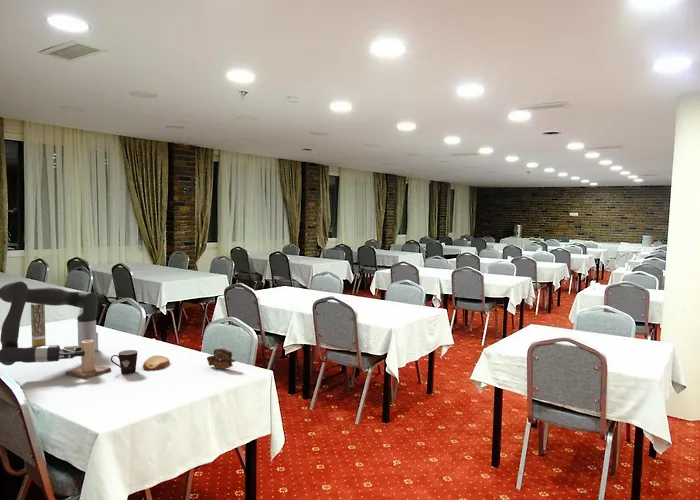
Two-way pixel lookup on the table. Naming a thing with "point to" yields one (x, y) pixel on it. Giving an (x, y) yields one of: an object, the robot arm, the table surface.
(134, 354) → the coffee mug
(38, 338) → the paper tube
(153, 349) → the table surface
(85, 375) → the stand
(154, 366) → the pita bread
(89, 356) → the cylinder
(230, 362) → the wooden carving
